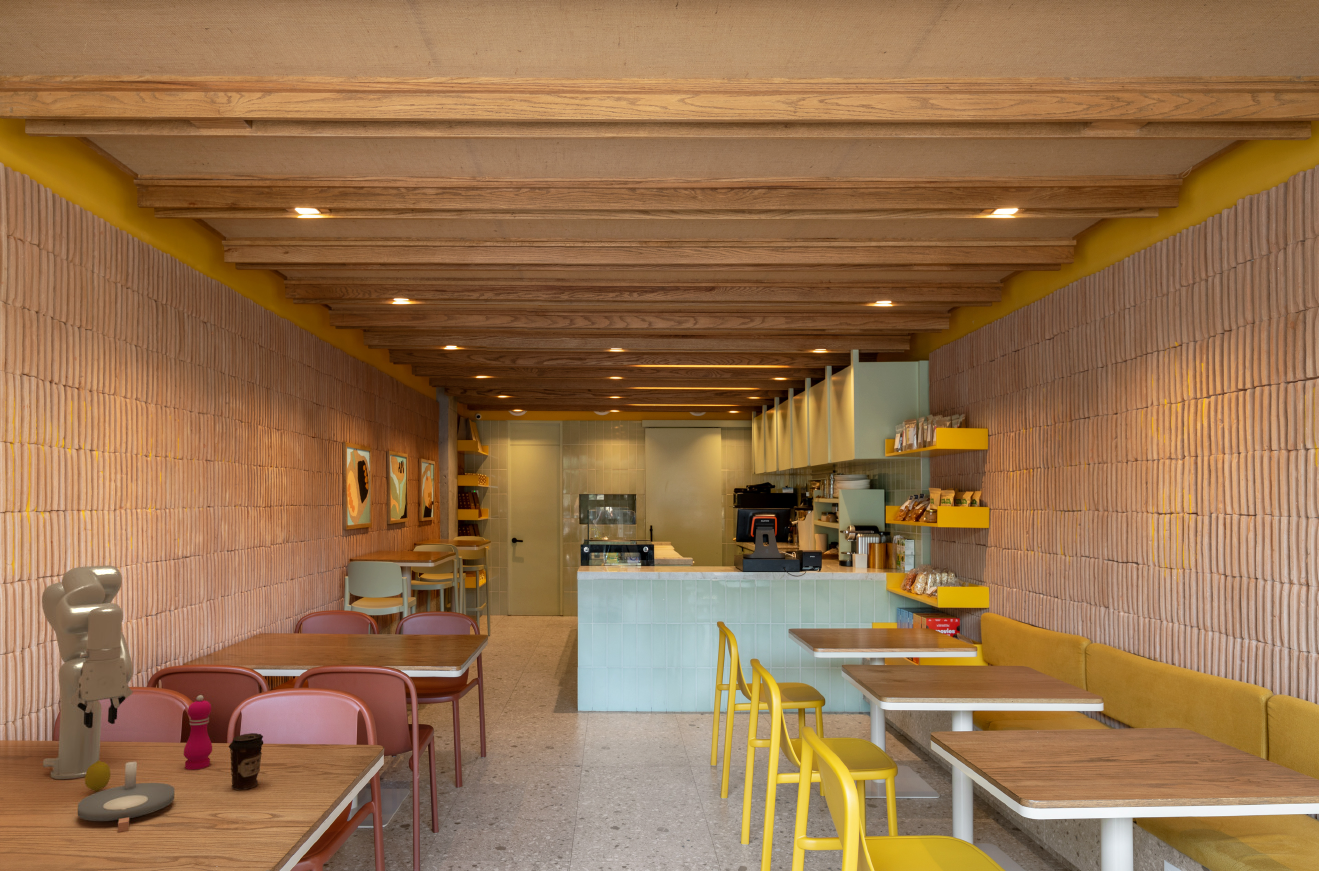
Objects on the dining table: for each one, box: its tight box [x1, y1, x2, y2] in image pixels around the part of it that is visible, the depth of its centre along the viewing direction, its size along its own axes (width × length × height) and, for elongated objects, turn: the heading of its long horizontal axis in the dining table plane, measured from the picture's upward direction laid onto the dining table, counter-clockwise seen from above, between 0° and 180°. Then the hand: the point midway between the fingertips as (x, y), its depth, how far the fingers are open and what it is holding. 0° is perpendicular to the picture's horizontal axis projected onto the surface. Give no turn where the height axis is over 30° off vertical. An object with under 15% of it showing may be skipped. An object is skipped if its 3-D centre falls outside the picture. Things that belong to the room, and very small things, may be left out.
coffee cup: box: [228, 732, 264, 791], centre depth 222 cm, size 9×8×13 cm
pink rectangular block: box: [117, 817, 130, 833], centre depth 193 cm, size 3×2×2 cm, turn 29°
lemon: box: [84, 760, 111, 793], centre depth 217 cm, size 6×6×8 cm
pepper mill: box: [183, 694, 213, 771], centre depth 239 cm, size 7×7×20 cm
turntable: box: [77, 761, 176, 822], centre depth 204 cm, size 20×20×8 cm
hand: (100, 724), depth 218 cm, fingers open, 4 cm apart
